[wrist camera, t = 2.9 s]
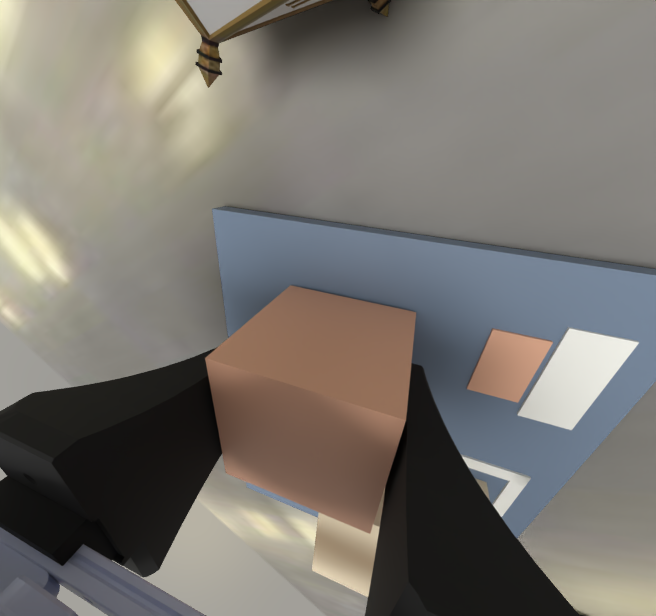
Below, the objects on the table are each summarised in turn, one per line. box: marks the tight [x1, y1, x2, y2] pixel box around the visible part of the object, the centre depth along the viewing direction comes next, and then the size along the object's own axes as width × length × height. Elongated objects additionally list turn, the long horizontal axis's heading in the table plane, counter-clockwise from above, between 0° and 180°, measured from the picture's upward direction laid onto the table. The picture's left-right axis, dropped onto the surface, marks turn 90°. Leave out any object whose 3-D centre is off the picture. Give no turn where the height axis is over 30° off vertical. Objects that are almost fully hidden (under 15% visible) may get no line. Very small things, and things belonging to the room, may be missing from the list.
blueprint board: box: [212, 206, 656, 538], centre depth 14 cm, size 20×16×1 cm
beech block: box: [312, 478, 490, 597], centre depth 14 cm, size 7×7×4 cm
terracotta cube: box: [205, 285, 416, 534], centre depth 10 cm, size 5×5×5 cm
